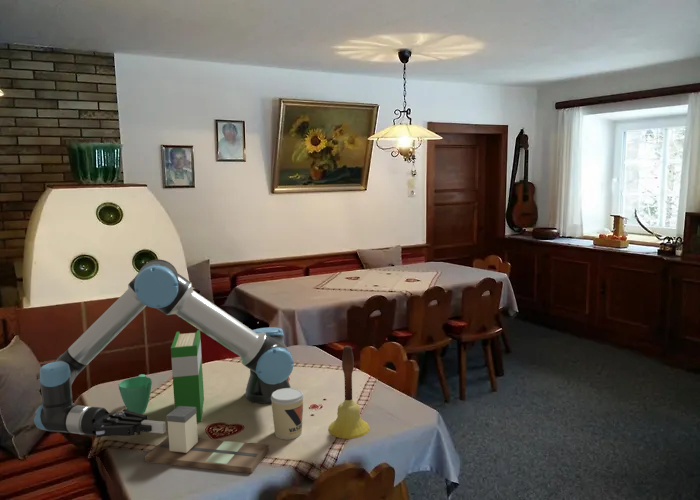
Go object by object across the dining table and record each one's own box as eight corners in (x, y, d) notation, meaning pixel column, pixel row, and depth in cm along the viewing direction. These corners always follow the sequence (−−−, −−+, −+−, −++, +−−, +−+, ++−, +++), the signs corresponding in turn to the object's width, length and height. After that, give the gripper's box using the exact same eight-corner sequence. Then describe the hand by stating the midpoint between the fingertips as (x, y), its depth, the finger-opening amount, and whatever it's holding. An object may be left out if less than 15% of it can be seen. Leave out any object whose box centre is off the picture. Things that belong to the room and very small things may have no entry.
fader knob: (169, 451, 144) (166, 415, 143) (181, 440, 150) (178, 405, 149) (186, 452, 143) (184, 417, 142) (198, 441, 149) (196, 407, 148)
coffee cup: (291, 444, 151) (289, 402, 149) (265, 436, 156) (263, 396, 154) (311, 430, 159) (309, 391, 157) (285, 423, 164) (284, 385, 162)
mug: (150, 417, 169) (148, 386, 168) (117, 420, 168) (114, 389, 167) (159, 398, 184) (157, 370, 182) (129, 401, 182) (127, 372, 181)
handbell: (337, 442, 151) (335, 356, 148) (322, 424, 163) (319, 343, 159) (377, 433, 156) (376, 349, 153) (359, 416, 167) (358, 337, 164)
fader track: (145, 461, 143) (144, 456, 143) (169, 440, 155) (169, 434, 154) (251, 473, 136) (251, 467, 136) (269, 449, 148) (268, 444, 148)
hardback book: (181, 401, 181) (176, 331, 178) (204, 399, 183) (200, 329, 180) (175, 424, 164) (170, 348, 161) (201, 421, 166) (196, 346, 162)
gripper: (105, 422, 159) (177, 429, 154) (73, 444, 147) (151, 452, 141) (103, 398, 158) (176, 404, 153) (70, 418, 145) (149, 425, 140)
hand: (164, 427), depth 147 cm, fingers closed
